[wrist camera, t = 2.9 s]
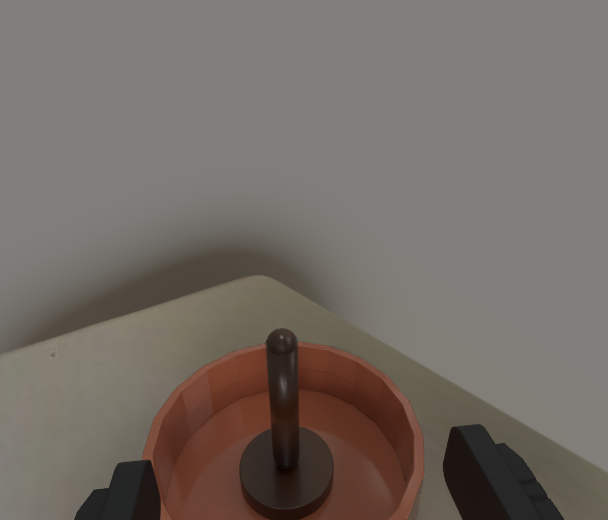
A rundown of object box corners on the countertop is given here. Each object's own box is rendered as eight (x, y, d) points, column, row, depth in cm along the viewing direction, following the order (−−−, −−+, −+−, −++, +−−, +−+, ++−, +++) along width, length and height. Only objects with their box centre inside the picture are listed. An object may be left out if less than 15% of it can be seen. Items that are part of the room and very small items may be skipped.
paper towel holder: (311, 425, 32) (311, 292, 26) (349, 498, 27) (360, 351, 21) (230, 452, 30) (212, 314, 24) (255, 538, 24) (239, 386, 19)
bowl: (341, 370, 39) (343, 322, 36) (471, 554, 24) (490, 497, 22) (150, 427, 33) (137, 375, 30) (175, 712, 19) (154, 658, 16)
